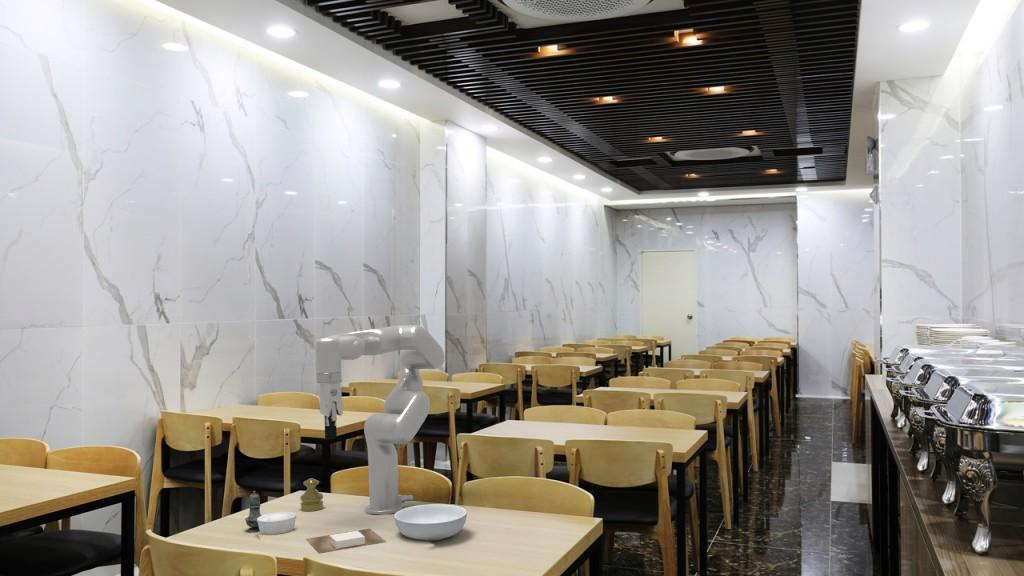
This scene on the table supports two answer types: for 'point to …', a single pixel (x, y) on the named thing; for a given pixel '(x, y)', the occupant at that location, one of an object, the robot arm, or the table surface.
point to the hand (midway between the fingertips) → (330, 438)
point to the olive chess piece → (311, 496)
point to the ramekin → (276, 522)
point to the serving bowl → (430, 521)
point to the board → (324, 546)
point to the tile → (347, 539)
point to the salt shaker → (253, 513)
